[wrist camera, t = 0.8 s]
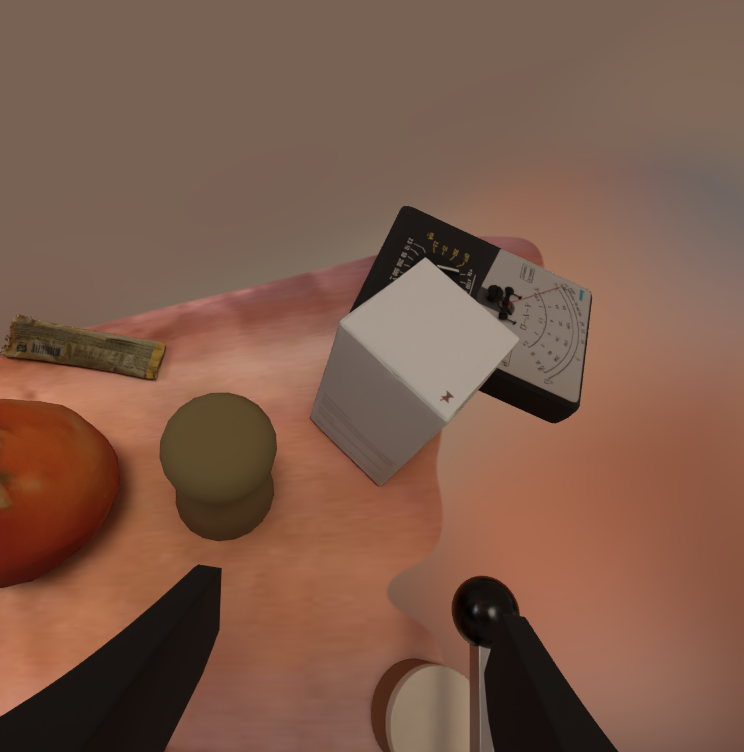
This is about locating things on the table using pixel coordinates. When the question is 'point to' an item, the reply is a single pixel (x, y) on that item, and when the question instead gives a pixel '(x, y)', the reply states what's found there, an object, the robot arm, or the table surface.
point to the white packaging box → (406, 368)
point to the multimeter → (501, 309)
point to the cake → (422, 709)
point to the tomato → (49, 486)
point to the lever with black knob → (480, 643)
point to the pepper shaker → (220, 464)
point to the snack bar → (83, 348)
